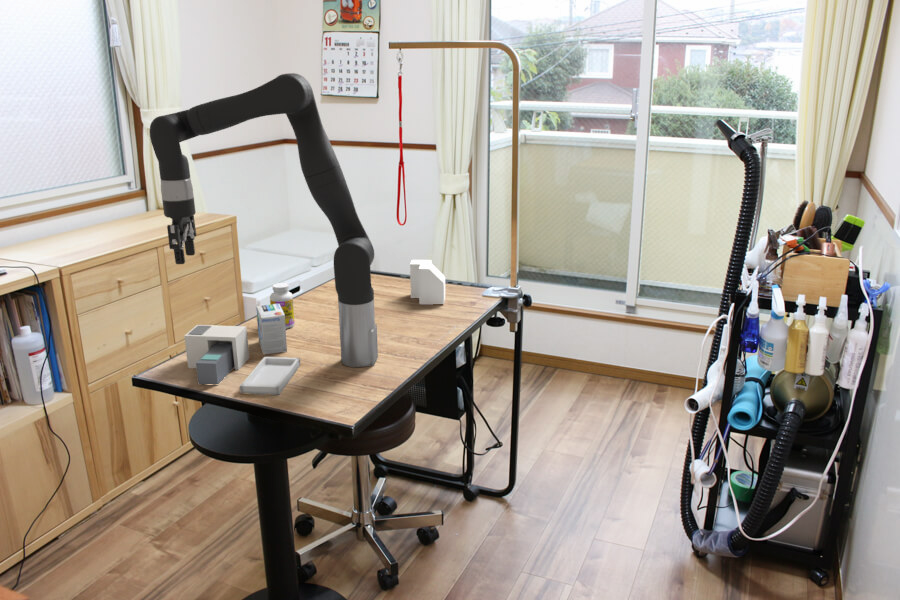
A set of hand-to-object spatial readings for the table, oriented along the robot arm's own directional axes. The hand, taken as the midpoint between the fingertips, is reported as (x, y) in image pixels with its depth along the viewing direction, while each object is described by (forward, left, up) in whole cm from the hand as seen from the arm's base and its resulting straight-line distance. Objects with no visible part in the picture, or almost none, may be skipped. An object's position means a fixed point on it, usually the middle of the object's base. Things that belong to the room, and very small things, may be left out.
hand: (185, 259), depth 191 cm
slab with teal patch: (-10, +10, -28) cm, 31 cm away
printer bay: (-7, +3, -27) cm, 28 cm away
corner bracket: (-56, -55, -28) cm, 83 cm away
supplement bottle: (-16, -26, -28) cm, 41 cm away
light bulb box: (-18, -10, -28) cm, 34 cm away
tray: (-24, +11, -27) cm, 38 cm away
